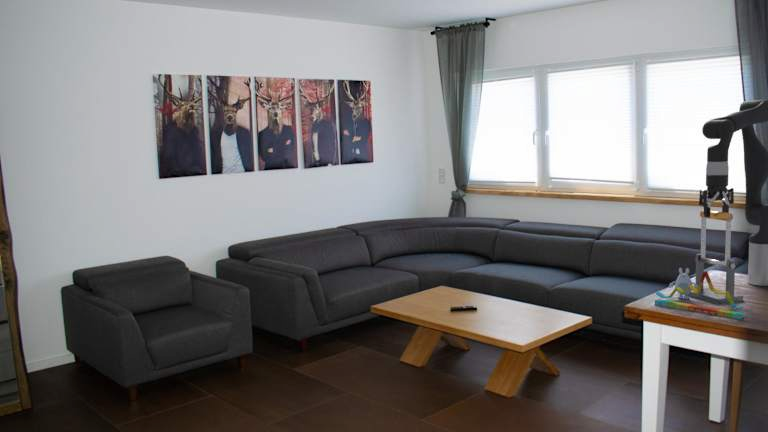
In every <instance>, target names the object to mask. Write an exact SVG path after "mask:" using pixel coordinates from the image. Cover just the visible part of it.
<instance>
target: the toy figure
mask: <svg viewBox="0 0 768 432" xmlns="http://www.w3.org/2000/svg"><path fill="white" fill-rule="evenodd" d="M678 273H679V274H678V276H677V279H676V280H674V281H672V282H670V283H669V284H668V288H670V289H672V288H674V289H675V288H676V287H680V288H681V289H682V290H684V291H685V290H686V289H687V288H688V287H689V286H691V285H693V286H694V287H695V288H696V289H698V285H697V284H695V283H696V282H693V281H692V280H691V277H690V276H689V273H690V268H689V267H686V268H685V272H683V268H682V267H679V268H678ZM690 292H691V289H689V290H688V291H687V292H685V293H683V294H682V293H680V292H679V291H678V290H677V291H676V293H678V294H679V295H677V298H678V299H682V300H683V299H685V300H689V299H690V296H687V294H689V293H690Z"/></svg>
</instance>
